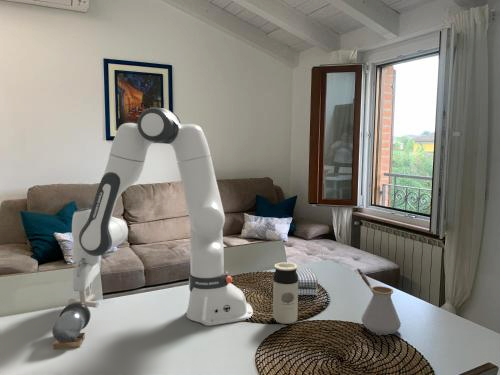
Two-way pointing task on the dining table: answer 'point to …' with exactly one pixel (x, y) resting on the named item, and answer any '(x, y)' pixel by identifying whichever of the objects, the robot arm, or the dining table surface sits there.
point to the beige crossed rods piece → (85, 300)
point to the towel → (307, 282)
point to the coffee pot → (380, 310)
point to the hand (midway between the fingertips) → (87, 294)
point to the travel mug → (285, 293)
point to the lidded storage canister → (71, 326)
